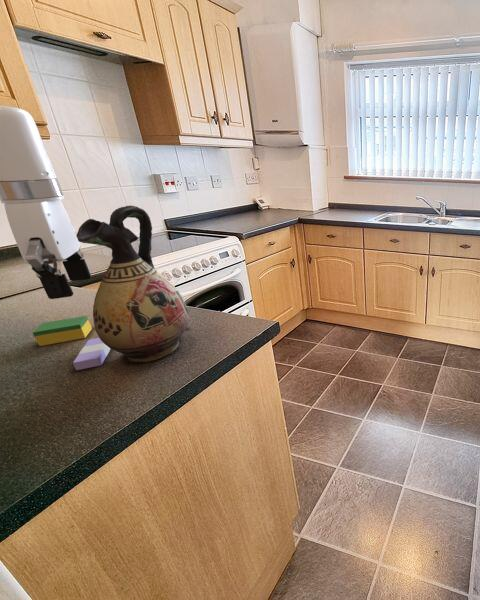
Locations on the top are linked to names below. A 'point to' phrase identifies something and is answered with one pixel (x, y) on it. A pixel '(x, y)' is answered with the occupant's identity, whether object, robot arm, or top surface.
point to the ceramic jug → (134, 292)
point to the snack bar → (91, 354)
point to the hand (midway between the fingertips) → (72, 287)
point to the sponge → (62, 330)
